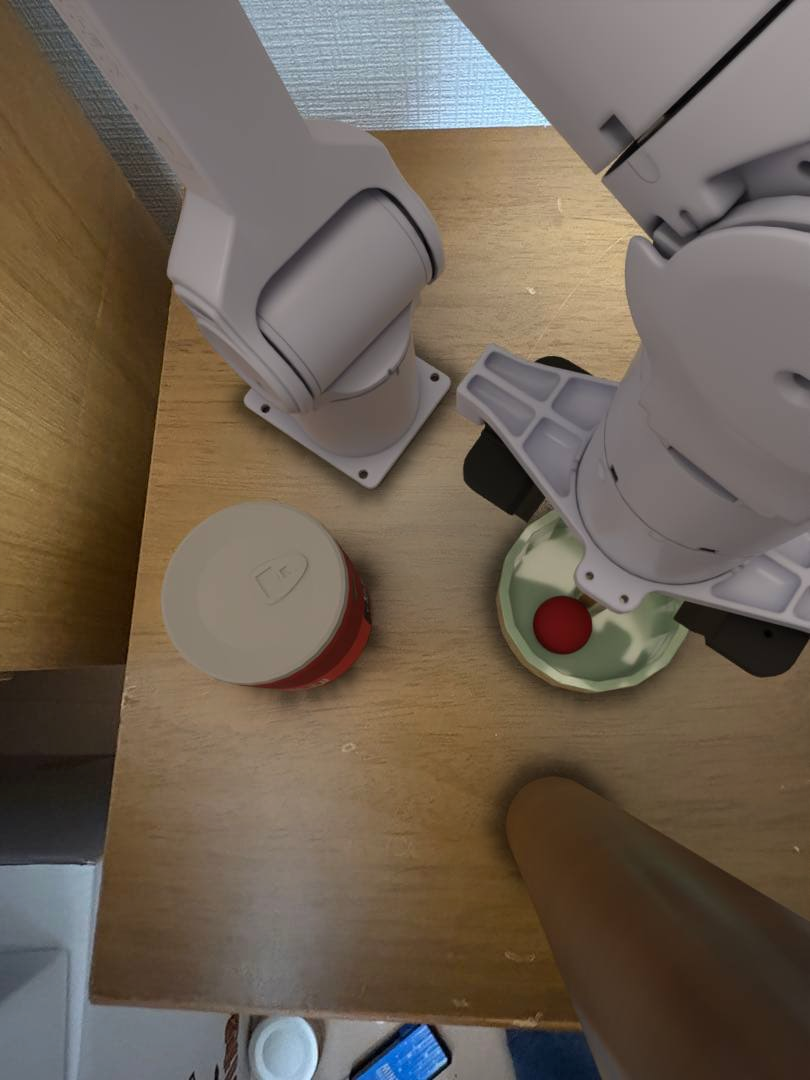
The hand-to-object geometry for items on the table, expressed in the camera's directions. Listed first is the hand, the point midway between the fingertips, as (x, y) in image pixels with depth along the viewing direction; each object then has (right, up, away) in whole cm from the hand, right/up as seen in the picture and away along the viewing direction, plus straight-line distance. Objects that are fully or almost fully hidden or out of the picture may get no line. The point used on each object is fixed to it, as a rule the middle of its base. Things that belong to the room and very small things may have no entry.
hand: (612, 550), depth 33 cm
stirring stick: (+1, -2, +9) cm, 10 cm away
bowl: (+1, -3, +10) cm, 10 cm away
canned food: (-14, -4, +11) cm, 18 cm away
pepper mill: (-1, -14, +7) cm, 16 cm away
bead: (-1, -4, +8) cm, 9 cm away
